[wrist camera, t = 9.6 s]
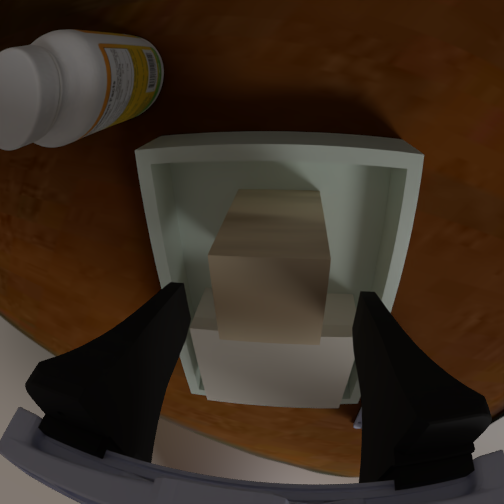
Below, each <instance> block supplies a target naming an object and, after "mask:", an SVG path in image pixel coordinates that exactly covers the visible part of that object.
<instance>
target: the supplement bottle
mask: <svg viewBox="0 0 504 504" xmlns="http://www.w3.org/2000/svg"><path fill="white" fill-rule="evenodd" d="M163 78H164V68H163V62H162V59H161V56H160V54H159V52H158V51H157V49H156V48H155V47H154V46H153V45H152V44H151V43H150V42H148V41H147V40H145V39H143V38H141V37H137V36H133V35H126V34H118V33H109V32H99V31H88V30H74V29H67V30H56V31H52V32H49V33H47V34H44V35H42V36H41V37H39V38H38V39H36V40H35V41H34V42H33V43H31V44H30V45H26V46H20V47H12V48H8V49H5V50H3V51H1V52H0V149H3V150H15V149H18V148H21V147H23V146H25V145H28V144H30V143H35V144H38V145H40V146H44V147H60V146H64V145H67V144H69V143H72V142H74V141H77V140H79V139H81V138H83V137H86V136H88V135H90V134H93V133H95V132H98V131H100V130H103V129H105V128H108V127H110V126H113V125H115V124H118V123H121V122H124V121H126V120H129V119H132V118H134V117H136V116H138V115H140V114H142V113H143V112H144V111H146V110H147V109H148V108H149V107H150V106H151V105H152V104H153V103H154V101H155V100H156V98H157V97H158V95H159V93H160V90H161V87H162V84H163Z"/></svg>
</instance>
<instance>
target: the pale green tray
mask: <svg viewBox="0 0 504 504" xmlns="http://www.w3.org/2000/svg"><path fill="white" fill-rule="evenodd" d="M135 156H136V163H137V170H138V176H139V182H140V188H141V194H142V199H143V205H144V210H145V216H146V221H147V226H148V231H149V236H150V241H151V245H152V250H153V255H154V259H155V263H156V268H157V272H158V276H159V281H160V285H161V289H163V288H164V287H165V286H166V285H167V284H169V283H170V282H177V283H184V286H185V292H186V297H187V302H188V307H189V311H190V316H191V322H190V325H191V323H192V320H193V318H194V315H195V313H196V310H197V307H198V305H199V302H200V300H201V297H202V295H203V292H204V290H205V287H206V288H212V285H211V277H210V270H209V262H208V253H209V251H210V249H211V247H212V244H213V242H214V240H215V238H216V236H217V234H218V232H219V229H220V227H221V225H222V223H223V221H224V219H225V217H226V214H227V212H228V210H229V208H230V206H231V204H232V202H233V200H234V198H235V196H236V194H237V191H238V189H274V190H311V191H320V196H321V201H322V207H323V213H324V219H325V225H326V231H327V237H328V243H329V250H330V257H331V264H330V273H329V281H328V289H327V293H333V294H353V296H354V301H355V307H356V309H357V304H358V299H359V294H360V291H370V292H375V293H376V294H377V295H378V297H379V298H380V299H381V301H382V302H383V304H384V305H385V306H386V308H387V309H388V311H389V312H390V313H391V309H392V306H393V303H394V299H395V296H396V292H397V289H398V285H399V281H400V277H401V274H402V270H403V266H404V262H405V258H406V253H407V249H408V245H409V240H410V236H411V231H412V226H413V221H414V216H415V211H416V205H417V200H418V194H419V188H420V181H421V175H422V168H423V160H424V154H423V153H421V152H420V151H418V150H417V149H416V148H414V147H413V146H411V145H410V144H408V143H407V142H405V141H404V140H402V139H395V138H386V137H376V136H365V135H353V134H339V133H321V132H292V131H239V132H211V133H193V134H178V135H166V136H160V137H158V138H156V139H154V140H152V141H151V142H149V143H147V144H145V145H143V146H141V147H140V148H138V149H136V150H135ZM180 359H181V362H182V365H183V368H184V372H185V375H186V378H187V381H188V384H189V387H190V391H191V393H193V394H200V395H206V393H205V389H204V385H203V381H202V378H201V374H200V370H199V366H198V362H197V358H196V354H195V350H194V345H193V341H192V337H191V333H190V326H189V330H188V334H187V337H186V340H185V343H184V345H183V348H182V350H181V353H180ZM360 397H361V393H360V387H359V381H358V375H357V369H356V363H355V359H354V363H353V366H352V369H351V372H350V375H349V379H348V382H347V385H346V388H345V391H344V394H343V397H342V400H341V403H340V404H358V401H359V399H360Z"/></svg>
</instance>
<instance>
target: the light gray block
mask: <svg viewBox="0 0 504 504" xmlns="http://www.w3.org/2000/svg"><path fill="white" fill-rule="evenodd" d="M355 313H356V307H355V301H354V296H353V294H333V293H327V297H326V304H325V312H324V319H323V326H322V332H321V339H320V345H303V344H280V343H262V342H247V341H233V340H221V339H219V332H218V326H217V319H216V313H215V306H214V299H213V292H212V288H206V287H205V290H204V292H203V295H202V297H201V300H200V302H199V305H198V307H197V310H196V313H195V315H194V318H193V320H192V323H191V325H190V333H191V337H192V341H193V345H194V350H195V354H196V358H197V362H198V366H199V370H200V374H201V378H202V381H203V385H204V389H205V393H206V396H207V400H213V401H221V402H230V403H240V404H250V405H262V406H277V407H297V408H339V406H340V403H341V400H342V397H343V394H344V391H345V388H346V385H347V382H348V379H349V375H350V372H351V369H352V366H353V363H354V359H355V357H354V351H353V336H352V326H353V322H354V318H355Z"/></svg>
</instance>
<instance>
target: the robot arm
mask: <svg viewBox="0 0 504 504" xmlns="http://www.w3.org/2000/svg"><path fill="white" fill-rule="evenodd" d="M190 322H191V316H190V311H189V307H188V302H187V297H186V292H185V286H184V283H177V282H170V283H169V284H167V285H166V286H165V287H164V288H163V289H161V290H160V291H159V292H158V293H157V294H156V295H154V296H153V297H152V298H151V299H150V300H149V301H147V302H146V303H145V304H144V305H143V306H142V307H140V308H139V309H138V310H137V311H135V312H134V313H133V314H132V315H130V316H129V317H128V318H126V319H125V320H124V321H123V322H121V323H120V324H118V325H117V326H116V327H114V328H113V329H111V330H109V331H108V332H106V333H105V334H103V335H101V336H100V337H98V338H96V339H94V340H92V341H90V342H89V343H87V344H85V345H83V346H81V347H79V348H76V349H74V350H72V351H70V352H67V353H65V354H62V355H59V356H56V357H53V358H50V359H47V360H44V361H41V362H39V363H38V365H37V366H36V368H35V369H34V371H33V372H32V374H31V375H30V377H29V379H28V380H27V382H26V384H25V387H26V390H27V392H28V394H29V395H30V396H31V398H32V399H33V400H34V401H35V403H36V404H37V405H38V406H39V407H40V408H41V410H42V411H43V412H44V413H45V416H44V417H43V419H42V418H40V417H39V416H37V415H36V414H34V413H31V412H30V411H27V410H25V409H23V408H21V407H19V408H18V410H17V411H16V413H15V415H14V416H13V418H12V420H11V422H10V423H9V425H8V427H7V429H6V431H5V432H4V434H3V436H2V438H1V440H0V454H1V455H3V456H4V457H5V458H6V459H8V460H9V461H10V462H11V463H13V464H14V465H15V466H17V467H18V468H19V469H21V470H22V471H23V472H25V473H26V474H28V475H29V476H31V477H32V478H34V479H36V480H38V481H39V482H41V483H43V484H45V485H46V486H48V487H50V488H52V489H54V490H55V491H57V492H59V493H61V494H63V495H65V496H67V497H69V498H71V499H73V500H75V501H77V502H79V503H81V504H504V453H503V450H499V451H496V452H492V453H489V454H485V455H482V456H479V457H477V458H475V459H474V460H473V459H472V454H471V453H473V452H474V450H475V447H474V444H473V442H474V441H475V440H476V439H477V438H478V437H479V436H480V435H481V434H482V433H483V432H484V431H485V430H486V429H487V427H488V426H489V425H490V422H491V420H492V418H491V414H490V411H489V407H488V404H487V402H486V399H485V397H484V396H483V395H481V394H479V393H477V392H476V391H474V390H472V389H470V388H469V387H467V386H465V385H464V384H462V383H461V382H459V381H458V380H456V379H455V378H454V377H452V376H451V375H449V374H448V373H447V372H446V371H444V370H443V369H442V368H441V367H439V366H438V365H437V364H436V363H435V362H434V361H432V360H431V359H430V358H429V357H428V356H427V355H426V354H425V353H424V352H423V351H422V350H421V349H420V348H419V347H418V346H417V345H416V344H415V343H414V342H413V341H412V340H411V338H410V337H409V336H408V335H407V334H406V333H405V331H404V330H403V329H402V328H401V326H400V325H399V324H398V322H397V321H396V320H395V319H394V317H393V316H392V315H391V313H390V312H389V311H388V309H387V308H386V306H385V305H384V304H383V302H382V301H381V299H380V298H379V297H378V295H377V294H376V293H375V292H370V291H360V294H359V299H358V304H357V309H356V313H355V318H354V322H353V326H352V336H353V351H354V357H355V363H356V369H357V375H358V381H359V387H360V393H361V403H362V407H361V409H360V411H359V414H358V416H357V418H356V420H355V422H354V424H353V426H354V428H362V448H361V466H360V477H359V483H354V484H330V485H329V484H328V485H307V484H303V485H302V484H279V483H265V482H254V481H245V480H236V479H228V478H221V477H215V476H209V475H203V474H197V473H192V472H187V471H182V470H178V469H173V468H169V467H164V466H160V465H156V464H152V463H151V460H152V453H153V446H154V440H155V435H156V430H157V424H158V420H159V416H160V411H161V407H162V403H163V399H164V396H165V392H166V388H167V385H168V383H169V380H170V377H171V375H172V372H173V370H174V368H175V365H176V363H177V360H178V358H179V355H180V353H181V350H182V348H183V345H184V343H185V340H186V337H187V334H188V330H189V326H190Z"/></svg>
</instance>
